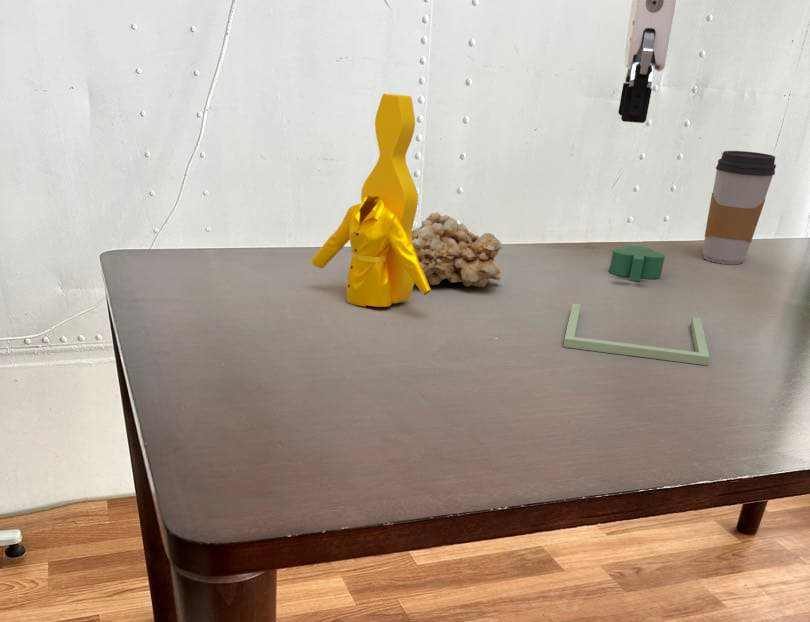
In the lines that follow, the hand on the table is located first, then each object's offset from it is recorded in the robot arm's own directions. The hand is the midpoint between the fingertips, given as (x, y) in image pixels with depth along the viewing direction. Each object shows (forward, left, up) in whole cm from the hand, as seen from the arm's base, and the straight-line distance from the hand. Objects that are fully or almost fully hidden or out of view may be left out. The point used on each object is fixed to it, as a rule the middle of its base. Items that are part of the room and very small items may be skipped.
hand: (631, 118), depth 112 cm
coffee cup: (-20, +5, -19) cm, 28 cm away
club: (0, +7, -19) cm, 20 cm away
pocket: (+20, +29, -19) cm, 40 cm away
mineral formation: (+28, +2, -19) cm, 34 cm away
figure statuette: (+42, +8, -19) cm, 47 cm away
